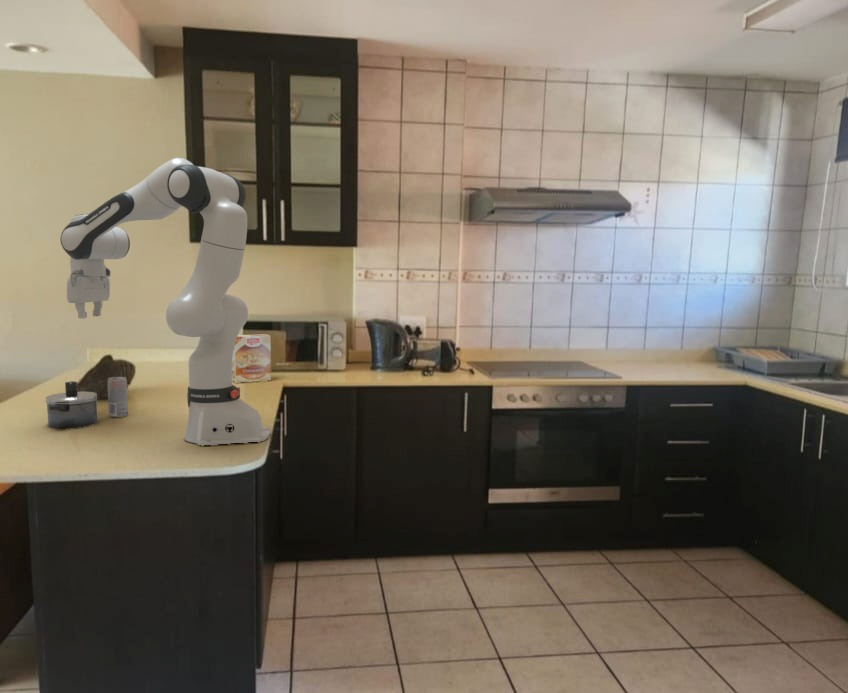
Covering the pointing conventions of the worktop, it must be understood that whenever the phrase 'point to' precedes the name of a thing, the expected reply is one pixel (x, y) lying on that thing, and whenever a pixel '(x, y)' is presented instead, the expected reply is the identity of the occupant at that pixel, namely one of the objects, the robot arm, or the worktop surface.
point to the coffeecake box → (252, 358)
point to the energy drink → (117, 396)
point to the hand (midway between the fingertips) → (89, 317)
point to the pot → (72, 414)
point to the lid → (71, 395)
